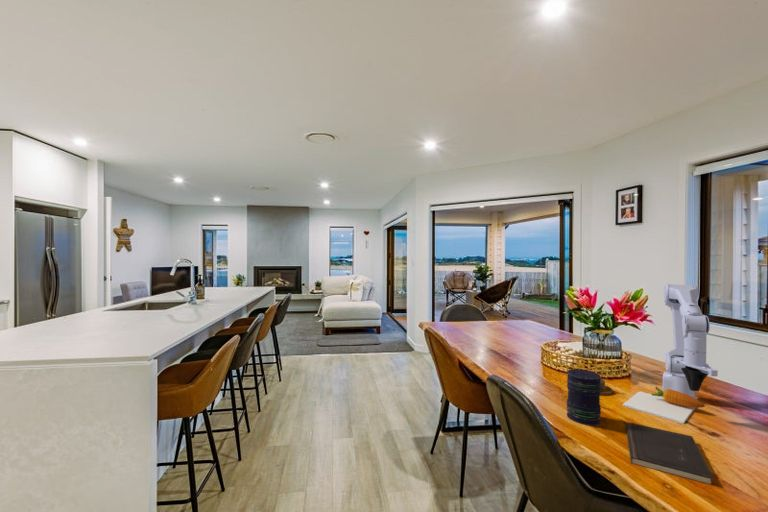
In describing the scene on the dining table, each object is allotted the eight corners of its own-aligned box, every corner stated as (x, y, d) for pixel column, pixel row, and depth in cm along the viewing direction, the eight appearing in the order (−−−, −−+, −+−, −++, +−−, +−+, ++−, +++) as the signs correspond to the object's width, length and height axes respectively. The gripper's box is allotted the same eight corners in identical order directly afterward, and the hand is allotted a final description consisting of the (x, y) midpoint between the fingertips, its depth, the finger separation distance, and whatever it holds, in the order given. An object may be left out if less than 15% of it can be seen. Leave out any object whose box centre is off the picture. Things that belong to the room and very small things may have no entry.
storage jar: (600, 416, 118) (601, 363, 118) (601, 428, 109) (601, 371, 109) (567, 409, 123) (567, 358, 123) (565, 420, 114) (566, 366, 114)
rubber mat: (622, 405, 126) (622, 404, 126) (639, 392, 139) (639, 391, 139) (683, 423, 113) (683, 422, 113) (695, 407, 126) (695, 405, 126)
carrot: (707, 399, 122) (655, 385, 134) (704, 398, 119) (651, 383, 131) (705, 413, 121) (653, 398, 133) (702, 412, 118) (649, 397, 130)
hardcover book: (692, 444, 102) (692, 436, 102) (713, 487, 82) (713, 478, 82) (625, 428, 110) (625, 421, 110) (630, 465, 91) (630, 456, 91)
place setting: (626, 398, 134) (626, 383, 134) (582, 403, 129) (583, 387, 129) (590, 382, 151) (590, 369, 151) (550, 385, 147) (550, 371, 147)
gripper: (727, 357, 111) (726, 399, 111) (688, 345, 126) (687, 382, 126) (705, 356, 111) (704, 398, 111) (668, 345, 126) (668, 382, 126)
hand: (694, 390), depth 118 cm, fingers closed
